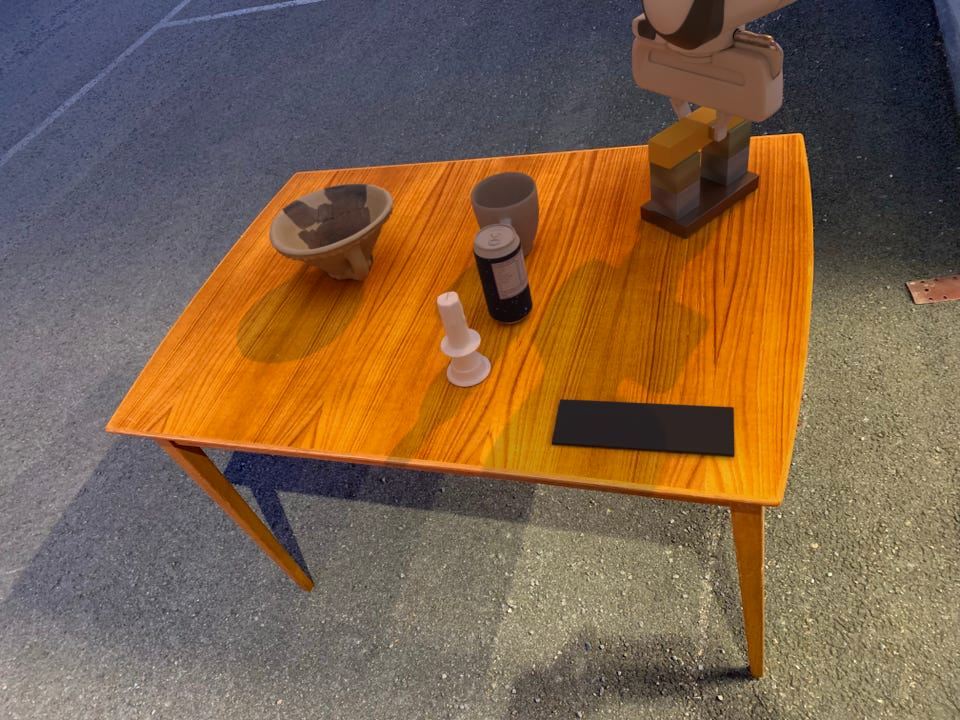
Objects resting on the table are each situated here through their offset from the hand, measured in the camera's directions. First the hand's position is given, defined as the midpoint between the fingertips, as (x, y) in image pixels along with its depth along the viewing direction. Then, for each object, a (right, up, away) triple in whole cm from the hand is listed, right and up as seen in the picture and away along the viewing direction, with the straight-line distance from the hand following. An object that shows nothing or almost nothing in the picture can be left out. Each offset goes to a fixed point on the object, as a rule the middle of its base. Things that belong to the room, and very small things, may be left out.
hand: (701, 133), depth 90 cm
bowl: (-48, -15, +14) cm, 52 cm away
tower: (+2, -7, +7) cm, 11 cm away
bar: (0, 0, 0) cm, 1 cm away
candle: (-30, -31, -7) cm, 43 cm away
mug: (-24, -15, +7) cm, 29 cm away
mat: (-12, -36, -18) cm, 42 cm away
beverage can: (-25, -23, -1) cm, 34 cm away
